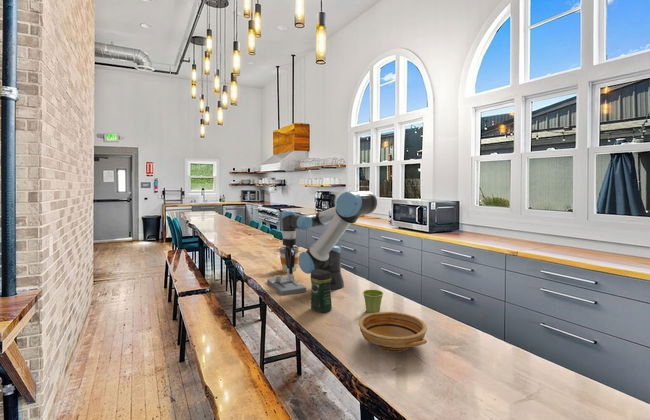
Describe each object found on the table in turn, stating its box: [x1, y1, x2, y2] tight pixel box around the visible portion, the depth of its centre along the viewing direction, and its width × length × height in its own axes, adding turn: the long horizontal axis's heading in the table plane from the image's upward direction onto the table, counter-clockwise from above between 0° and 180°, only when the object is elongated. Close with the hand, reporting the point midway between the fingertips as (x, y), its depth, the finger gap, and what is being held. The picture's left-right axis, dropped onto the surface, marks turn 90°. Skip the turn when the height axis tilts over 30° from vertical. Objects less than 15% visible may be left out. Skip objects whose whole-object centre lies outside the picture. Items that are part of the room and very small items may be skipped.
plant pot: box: [362, 289, 384, 314], centre depth 163 cm, size 9×9×9 cm
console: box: [266, 276, 307, 296], centre depth 202 cm, size 26×14×2 cm, turn 25°
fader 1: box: [273, 274, 282, 282], centre depth 204 cm, size 2×3×3 cm, turn 116°
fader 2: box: [288, 274, 295, 282], centre depth 204 cm, size 2×3×3 cm, turn 115°
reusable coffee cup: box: [279, 245, 299, 273], centre depth 238 cm, size 13×13×15 cm
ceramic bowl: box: [358, 311, 428, 353], centre depth 130 cm, size 30×24×8 cm
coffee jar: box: [310, 269, 332, 313], centre depth 166 cm, size 10×8×19 cm
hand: (290, 278), depth 206 cm, fingers closed
